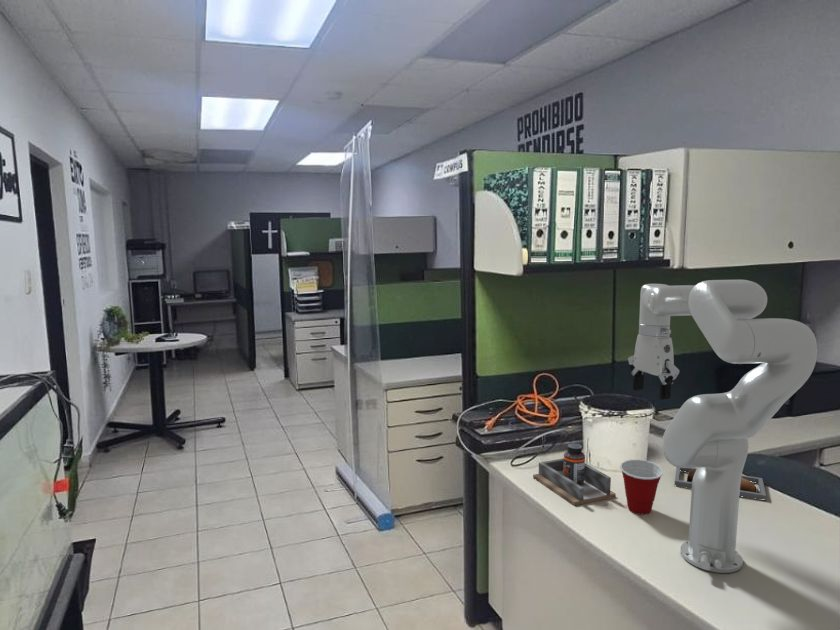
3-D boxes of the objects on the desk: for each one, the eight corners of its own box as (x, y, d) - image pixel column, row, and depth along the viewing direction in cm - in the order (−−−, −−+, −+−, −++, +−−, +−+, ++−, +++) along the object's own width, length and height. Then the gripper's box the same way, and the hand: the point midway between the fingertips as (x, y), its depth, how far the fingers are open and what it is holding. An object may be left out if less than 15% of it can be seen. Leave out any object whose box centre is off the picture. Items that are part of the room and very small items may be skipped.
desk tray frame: (765, 500, 162) (765, 495, 162) (674, 485, 172) (674, 480, 172) (761, 483, 173) (762, 478, 173) (676, 469, 183) (676, 465, 183)
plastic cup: (619, 517, 153) (621, 473, 151) (616, 499, 163) (618, 457, 162) (664, 521, 150) (667, 477, 149) (658, 503, 161) (660, 461, 159)
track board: (615, 496, 165) (616, 476, 164) (573, 505, 160) (574, 484, 159) (571, 470, 183) (572, 452, 182) (533, 477, 178) (533, 458, 177)
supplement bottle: (558, 480, 173) (559, 443, 171) (575, 477, 175) (577, 440, 173) (570, 488, 167) (572, 450, 166) (588, 485, 169) (589, 447, 168)
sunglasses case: (759, 486, 171) (759, 471, 167) (756, 506, 166) (755, 491, 163) (692, 472, 181) (691, 458, 178) (687, 490, 177) (685, 476, 173)
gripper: (691, 335, 149) (687, 400, 151) (641, 325, 165) (638, 385, 167) (668, 337, 146) (664, 404, 148) (620, 327, 162) (617, 387, 164)
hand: (651, 394), depth 158 cm, fingers open, 9 cm apart
